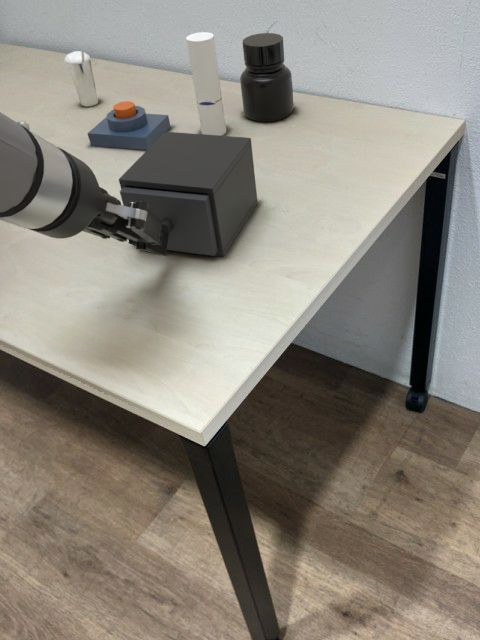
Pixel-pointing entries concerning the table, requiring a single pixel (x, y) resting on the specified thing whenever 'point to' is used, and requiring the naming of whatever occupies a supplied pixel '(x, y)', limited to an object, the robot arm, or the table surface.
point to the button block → (129, 130)
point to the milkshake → (82, 77)
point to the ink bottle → (265, 78)
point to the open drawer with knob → (179, 217)
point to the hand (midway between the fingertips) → (161, 244)
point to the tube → (206, 83)
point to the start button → (124, 110)
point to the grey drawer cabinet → (202, 176)
